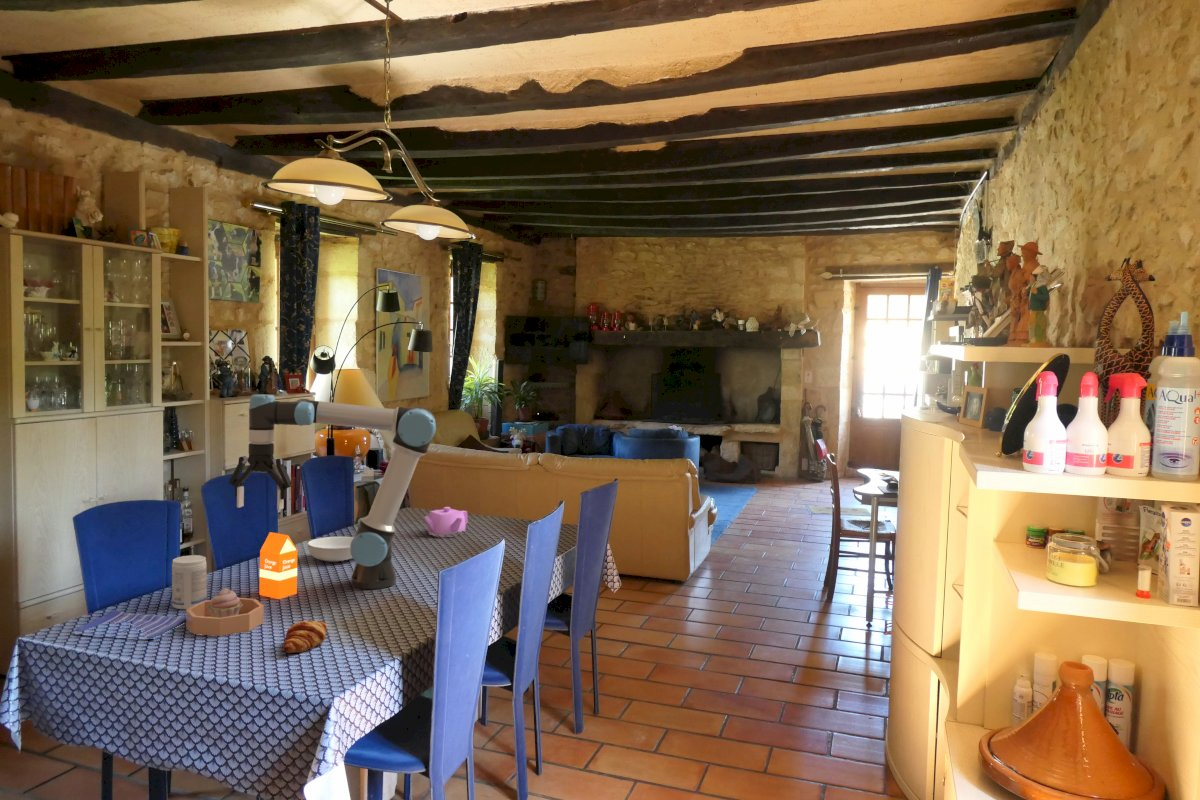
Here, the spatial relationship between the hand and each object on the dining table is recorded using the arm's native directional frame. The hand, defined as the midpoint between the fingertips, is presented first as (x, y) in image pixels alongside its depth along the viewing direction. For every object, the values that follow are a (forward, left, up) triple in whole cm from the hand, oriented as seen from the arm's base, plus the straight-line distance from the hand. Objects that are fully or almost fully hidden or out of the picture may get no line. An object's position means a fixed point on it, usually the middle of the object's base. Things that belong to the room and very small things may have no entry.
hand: (260, 508), depth 262 cm
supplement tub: (+15, +14, -29) cm, 35 cm away
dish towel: (+18, +36, -29) cm, 50 cm away
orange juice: (-5, -3, -29) cm, 29 cm away
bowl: (-5, +28, -29) cm, 40 cm away
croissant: (-34, +38, -29) cm, 59 cm away
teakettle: (-32, -102, -29) cm, 111 cm away
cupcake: (-5, +28, -28) cm, 40 cm away
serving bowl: (-4, -50, -29) cm, 58 cm away
